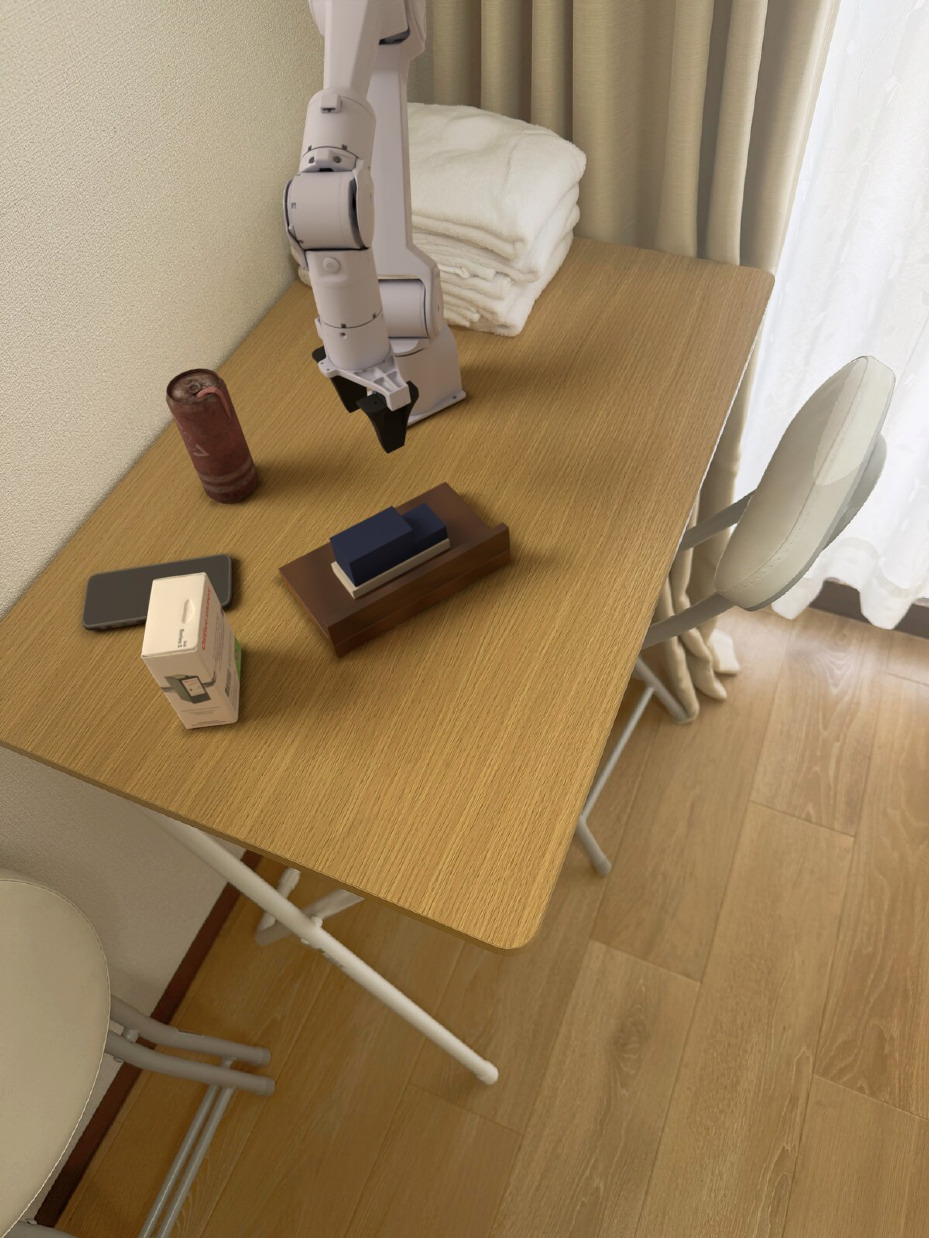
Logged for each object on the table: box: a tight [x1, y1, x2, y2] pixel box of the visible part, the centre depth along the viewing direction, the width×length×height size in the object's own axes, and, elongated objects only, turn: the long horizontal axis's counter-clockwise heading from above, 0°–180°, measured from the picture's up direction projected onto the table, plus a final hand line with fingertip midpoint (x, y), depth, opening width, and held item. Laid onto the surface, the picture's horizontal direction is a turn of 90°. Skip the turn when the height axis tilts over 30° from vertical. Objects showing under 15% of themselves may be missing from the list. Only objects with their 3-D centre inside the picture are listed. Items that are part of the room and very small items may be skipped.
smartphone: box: [81, 553, 234, 632], centre depth 93 cm, size 7×1×15 cm
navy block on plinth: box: [328, 503, 450, 599], centre depth 89 cm, size 11×4×5 cm, turn 123°
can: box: [165, 367, 259, 504], centre depth 97 cm, size 6×6×14 cm
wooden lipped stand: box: [277, 481, 512, 659], centre depth 90 cm, size 20×12×5 cm, turn 123°
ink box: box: [140, 573, 243, 730], centre depth 81 cm, size 9×5×12 cm, turn 5°
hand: (375, 427), depth 92 cm, fingers open, 7 cm apart
